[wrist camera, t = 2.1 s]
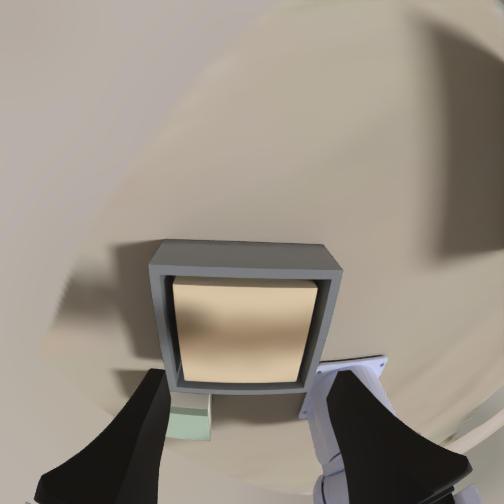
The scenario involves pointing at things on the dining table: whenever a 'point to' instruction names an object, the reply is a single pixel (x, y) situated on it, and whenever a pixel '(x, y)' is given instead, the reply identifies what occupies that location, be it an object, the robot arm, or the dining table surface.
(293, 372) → the tan wooden block
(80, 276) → the dining table surface
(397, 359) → the dining table surface
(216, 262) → the gray square tray
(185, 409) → the green banded cube
